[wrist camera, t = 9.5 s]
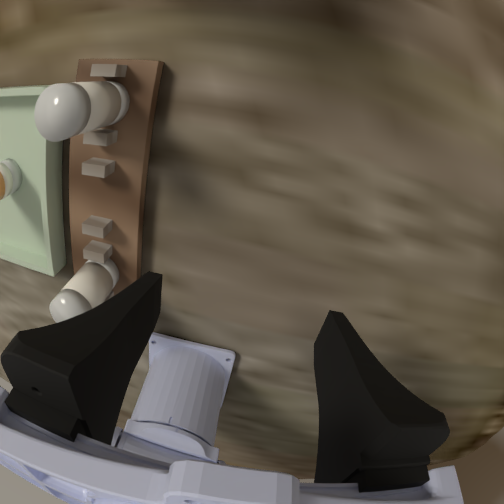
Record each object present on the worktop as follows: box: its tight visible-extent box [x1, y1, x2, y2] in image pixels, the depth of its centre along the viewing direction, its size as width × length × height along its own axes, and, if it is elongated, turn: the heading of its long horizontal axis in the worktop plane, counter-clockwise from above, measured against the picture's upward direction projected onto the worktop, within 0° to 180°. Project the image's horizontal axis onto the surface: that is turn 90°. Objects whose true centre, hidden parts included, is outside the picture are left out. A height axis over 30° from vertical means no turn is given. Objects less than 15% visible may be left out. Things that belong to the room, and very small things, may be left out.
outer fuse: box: [34, 81, 130, 142], centre depth 15 cm, size 3×3×6 cm
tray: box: [0, 85, 67, 276], centre depth 20 cm, size 15×11×2 cm
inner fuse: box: [50, 258, 119, 323], centre depth 21 cm, size 3×3×6 cm
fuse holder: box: [69, 59, 164, 302], centre depth 21 cm, size 19×6×2 cm, turn 168°
